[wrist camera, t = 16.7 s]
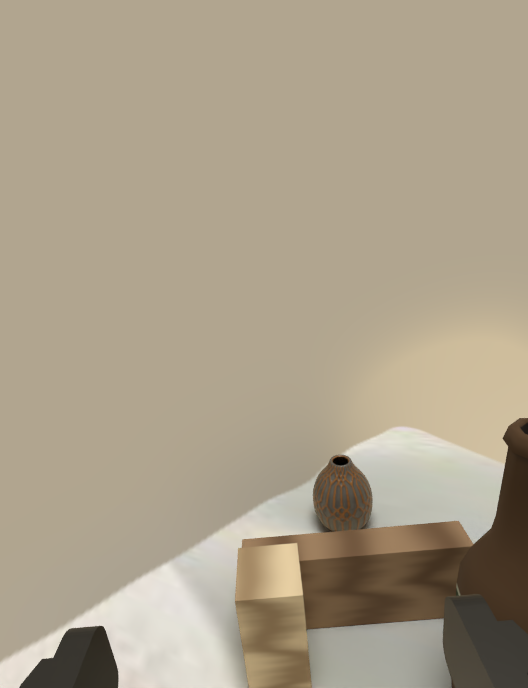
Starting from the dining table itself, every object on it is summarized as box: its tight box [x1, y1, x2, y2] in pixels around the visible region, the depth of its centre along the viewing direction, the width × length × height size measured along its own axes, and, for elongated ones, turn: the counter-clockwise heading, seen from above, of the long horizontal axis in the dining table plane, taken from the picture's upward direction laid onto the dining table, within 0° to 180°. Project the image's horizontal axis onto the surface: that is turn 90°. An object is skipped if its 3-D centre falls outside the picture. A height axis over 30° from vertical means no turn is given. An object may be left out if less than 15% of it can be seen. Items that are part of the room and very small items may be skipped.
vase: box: [313, 455, 372, 532], centre depth 49 cm, size 7×7×9 cm
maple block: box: [235, 543, 312, 688], centre depth 35 cm, size 5×5×10 cm
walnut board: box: [242, 521, 474, 629], centre depth 38 cm, size 20×3×8 cm, turn 90°
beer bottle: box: [452, 418, 528, 688], centre depth 27 cm, size 8×8×24 cm
